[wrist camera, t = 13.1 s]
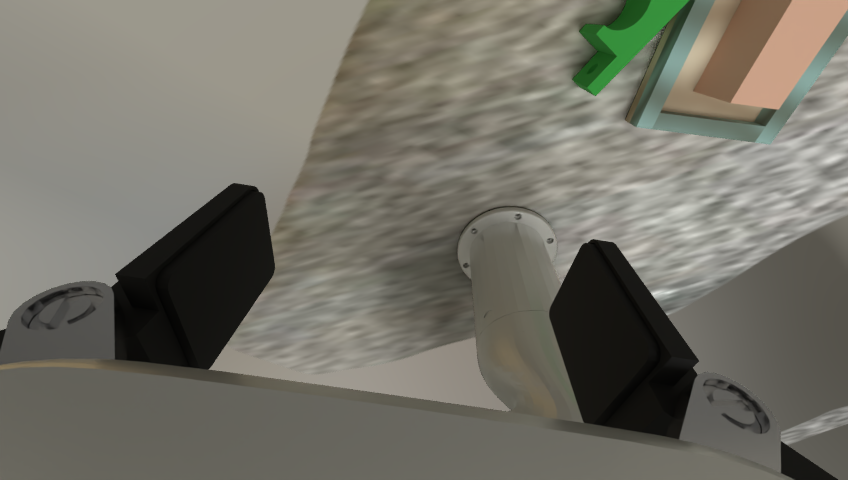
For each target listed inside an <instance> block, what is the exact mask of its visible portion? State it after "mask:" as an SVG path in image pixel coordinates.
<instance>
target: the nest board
mask: <svg viewBox="0 0 848 480" xmlns="http://www.w3.org/2000/svg"><path fill="white" fill-rule="evenodd" d="M741 1H742V0H689V1H688V2H687V3H686V4H685V5H684V6H683V7H682V8H681V10H680V11H679V12H678V13H677V14H676V15H675V16H674V17H673V18H672V19H671V20H670V21H669V22H668V24H667V26H666V28H665V31H664V33H663V35H662V38H661V40H660V42H659V44H658V47H657V49H656V51H655V53H654V56H653V58H652V60H651V63H650V65H649V67H648V69H647V72H646V74H645V76H644V78H643V81H642V83H641V85H640V87H639V90H638V92H637V94H636V97H635V99H634V101H633V103H632V106H631V108H630V110H629V112H628V115H627V117H626V119H625V120H626V121H627V122H629V123H630V124H632V125H634V126H635V127H640V128H648V129H655V130H663V131H671V132H678V133H686V134H694V135H702V136H709V137H717V138H725V139H733V140H740V141H748V142H756V143H764V144H771V143H772V141H773V140H774V138H775V137H776V136H777V134H778V133H779V131H780V130H781V129H782V127H783V126H784V124H785V123H786V122H787V120H788V119H789V117H790V116H791V115H792V113H793V112H794V110H795V109H796V108H797V106H798V105H799V103H800V102H801V100H802V99H803V98H804V96H805V95H806V93H807V92H808V91H809V89H810V88H811V86H812V85H813V84H814V82H815V81H816V79H817V78H818V77H819V75H820V74H821V72H822V71H823V70H824V68H825V67H826V65H827V64H828V63H829V61H830V60H831V58H832V57H833V55H834V54H835V53H836V51H837V50H838V48H839V47H840V46H841V44H842V43H843V41H844V40H845V39H846V37H847V36H848V10H847V11H846V13H845V14H844V16H843V17H842V19H841V20H840V21H839V23H838V24H837V26H836V27H835V29H834V30H833V32H832V33H831V34H830V36H829V37H828V39H827V40H826V42H825V43H824V45H823V46H822V47H821V49H820V50H819V52H818V53H817V55H816V56H815V58H814V59H813V61H812V62H811V63H810V65H809V66H808V68H807V69H806V71H805V72H804V74H803V75H802V76H801V78H800V79H799V81H798V82H797V84H796V85H795V87H794V88H793V90H792V91H791V92H790V94H789V95H788V97H787V98H786V100H785V101H784V103H783V104H782V105H781V107H780V108H779V110H778V109H770V108H763V107H756V106H748V105H741V104H734V103H728V102H725V101H722V100H719V99H716V98H713V97H709V96H706V95H703V94H700V93H697V92H693V91H694V89H695V87H696V85H697V83H698V81H699V79H700V77H701V76H702V74H703V72H704V70H705V68H706V66H707V64H708V63H709V61H710V59H711V57H712V55H713V53H714V51H715V49H716V48H717V46H718V44H719V42H720V40H721V38H722V36H723V34H724V33H725V31H726V29H727V27H728V25H729V23H730V21H731V19H732V18H733V16H734V14H735V12H736V10H737V8H738V6H739V4H740V3H741Z"/></svg>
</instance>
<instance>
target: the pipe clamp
mask: <svg viewBox="0 0 848 480" xmlns="http://www.w3.org/2000/svg"><path fill="white" fill-rule="evenodd" d="M688 1H689V0H626V4H625V7H624V9H623V11H622V13H621V14H620V16H619V17H618V18H617V19H616V20H615V21H614V22H613V23H612V24H610V25H608V26H605V25H595V24H585V25H584V27H583V28H582V29H581V30H580V31H579V32H580V33H581V34H582V35H583V36H584V37H585V38H586V39H587V41H588V42H589V43H590V44H591V45H592V46H593V47H594V48H595V49H596V50H597V51H598V52H597V53H596V54H595V55H594V56H593V57H592V58H591V60H590V61H589V62H588V63H587V64H586V65H585V66H584V67H583V68H582V69H581V71H580V72H579V73H578V74H577V75H576V76H575V77H574V78H573V79H572V80H573V81H574V82H575V83H576V84H577V85H578V86H579V87H580V88H582V89H584V90H586V91H587V92H589V93H591V94H593V95H595V96H596V95H597V94H598V93H599V92H600V91H601V90H602V89H603V88H604V87H605V86H606V85H607V84H608V83H609V82H610V81H611V80H612V79H613V78H614V77H615V76H616V75H617V74H618V73H619V72H620V71H621V70H622V69H623V68H624V67H625V66H626V65H627V64H628V63H629V61H630V60H631V59H632V58H633V57H634V56H635V55H636V54H637V53H638V52H639V51H640V50H641V49H642V48H643V47H644V46H645V45H646V44H647V43H648V42H649V41H650V40H651V39H652V38H653V37H654V36H655V35H656V34H657V33H658V32H659V31H660V30H661V29H662V28H663V27H664V26H665V25H666V24H667V23H668V22H669V21H670V20H671V19H672V18H673V17H674V16H675V15H676V14H677V13H678V12H679V11H680V10H681V8H682V7H683V6H684V5H685V4H686V3H687V2H688Z"/></svg>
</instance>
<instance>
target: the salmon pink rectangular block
mask: <svg viewBox="0 0 848 480" xmlns="http://www.w3.org/2000/svg"><path fill="white" fill-rule="evenodd" d="M847 10H848V0H742V1H741V3H740V4H739V6H738V8H737V10H736V12H735V14H734V16H733V18H732V19H731V21H730V23H729V25H728V27H727V29H726V31H725V33H724V34H723V36H722V38H721V40H720V42H719V44H718V46H717V48H716V49H715V51H714V53H713V55H712V57H711V59H710V61H709V63H708V64H707V66H706V68H705V70H704V72H703V74H702V76H701V77H700V79H699V81H698V83H697V85H696V87H695V89H694V91H693V92H697V93H700V94H703V95H706V96H709V97H713V98H716V99H719V100H722V101H725V102H728V103H734V104H741V105H748V106H756V107H763V108H770V109H778V110H779V108H780V107H781V105H782V104H783V103H784V101H785V100H786V98H787V97H788V95H789V94H790V92H791V91H792V90H793V88H794V87H795V85H796V84H797V82H798V81H799V79H800V78H801V76H802V75H803V74H804V72H805V71H806V69H807V68H808V66H809V65H810V63H811V62H812V61H813V59H814V58H815V56H816V55H817V53H818V52H819V50H820V49H821V47H822V46H823V45H824V43H825V42H826V40H827V39H828V37H829V36H830V34H831V33H832V32H833V30H834V29H835V27H836V26H837V24H838V23H839V21H840V20H841V19H842V17H843V16H844V14H845V13H846V11H847Z"/></svg>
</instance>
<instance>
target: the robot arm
mask: <svg viewBox="0 0 848 480" xmlns="http://www.w3.org/2000/svg"><path fill="white" fill-rule="evenodd" d="M516 214H518V215H516ZM473 228H475V229H473ZM457 252H458V260H459V264H460V266H461V268H462V270H463V272H464V273H465V274H466V275H467V276H468V277H469V278H470V279H471V282H472V295H473V308H474V321H475V334H476V346H477V358H478V363H479V368H480V371H481V374H482V376H483V378H484V380H485V381H486V384H487V385H488V386H489V388H490V389H491V390H492V392H493V393H494V394H495V395H496V396H497V397H498V398H499V399H500V400H501V401H502V402H503V403H504V404H505V405H506V406H507V407H508V408H509V409H511V411H508V412H506V411H499V410H493V409H485V408H479V407H472V406H465V405H458V404H451V403H444V402H437V401H430V400H423V399H416V398H409V397H403V396H395V395H388V394H381V393H374V392H367V391H360V390H353V389H346V388H339V387H331V386H324V385H317V384H309V383H303V382H295V381H288V380H281V379H273V378H265V377H259V376H252V375H243V374H237V373H230V372H222V371H214V370H208V369H209V368H210V367H211V366H212V365H213V363H214V362H215V360H216V359H217V357H218V356H219V354H220V353H221V351H222V349H223V348H224V347H225V345H226V344H227V343H228V341H229V340H230V338H231V337H232V335H233V334H234V332H235V331H236V329H237V328H238V326H239V325H240V323H241V322H242V320H243V319H244V317H245V316H246V315H247V313H248V312H249V310H250V309H251V307H252V306H253V304H254V303H255V301H256V300H257V298H258V297H259V295H260V294H261V292H262V291H263V290H264V288H265V287H266V285H267V284H268V282H269V281H270V279H271V278H272V276H273V274H274V270H275V263H274V256H273V249H272V243H271V236H270V230H269V223H268V217H267V210H266V203H265V198H264V195H263V193H261V192H259V191H258V189H257V188H256V187H255V186H249V185H242V184H236V183H233V184H231V185H230V186H228V187H227V188H226V189H225V190H223V191H222V192H221V193H219V194H218V195H217V196H215V197H214V198H213V199H212V200H210V201H209V202H208V203H206V204H205V205H204V206H203V207H201V208H200V209H199V210H197V211H196V212H195V213H194V214H192V215H191V216H190V217H188V218H187V219H186V220H185V221H183V222H182V223H181V224H179V225H178V226H177V227H175V228H174V229H173V230H172V231H170V232H169V233H168V234H166V235H165V236H164V237H163V238H162V239H160V240H159V241H157V242H156V243H155V244H153V245H152V246H151V247H150V248H148V249H147V250H146V251H144V252H143V253H142V254H141V255H139V256H138V257H137V258H135V259H134V260H133V261H132V262H130V263H129V264H128V265H126V266H125V267H124V268H122V269H121V270H120V271H119V272H118V273H116V274H115V275H116V277H117V279H118V282H117V283H116V284H114V285H113V286H112V287H109V286H108V285H106V284H105V283H100V282H96V281H82V282H75V283H69V284H65V285H61V286H58V287H55V288H51V289H49V290H47V291H45V292H42V293H40V294H38V295H36V296H34V297H32V298H31V299H29V300H28V301H26V302H24V303H23V304H22V305H21V306H20V307H19V308H17V309H16V310H15V311H14V312H13V314H12V315H11V317H10V319H9V321H8V325H7V328H6V329H4V330H1V331H0V480H838V479H836V478H835V477H833V476H832V475H830V474H829V473H827V472H826V471H824V470H823V469H821V468H820V467H818V466H817V465H816V464H814V463H813V462H811V461H810V460H808V459H807V458H805V457H804V456H802V455H801V454H799V453H798V452H796V451H795V450H793V449H792V448H790V447H789V446H787V445H786V444H784V443H783V442H781V432H780V428H779V424H778V422H777V420H776V418H775V417H774V415H773V413H772V412H771V411H770V409H769V408H768V407H767V406H766V405H765V404H764V403H763V401H762V400H760V399H759V398H758V397H757V396H756V395H754V394H753V393H752V392H751V391H750V390H748V389H747V388H745V387H744V386H742V385H741V384H739V383H738V382H736V381H734V380H732V379H730V378H728V377H726V376H723V375H720V374H717V373H709V372H704V373H701V374H698V375H697V373H696V372H695V370H694V369H693V367H694V366H695V364H697V363H698V362H699V360H698V359H697V357H696V356H695V354H694V353H693V352H692V350H691V349H690V348H689V346H688V345H687V343H686V342H685V341H684V339H683V338H682V336H681V335H680V334H679V332H678V331H677V329H676V328H675V327H674V325H673V324H672V322H671V321H670V320H669V318H668V317H667V315H666V314H665V313H664V311H663V310H662V308H661V307H660V306H659V304H658V303H657V301H656V300H655V299H654V297H653V296H652V294H651V293H650V292H649V290H648V289H647V287H646V286H645V285H644V283H643V282H642V281H641V279H640V278H639V276H638V275H637V274H636V272H635V271H634V269H633V268H632V267H631V265H630V264H629V262H628V261H627V260H626V258H625V257H624V255H623V254H622V253H621V251H620V250H619V248H618V247H617V246H616V244H615V243H613V242H607V241H601V240H594V239H593V240H590V241H589V242H588V243H584V244H583V245H582V246H581V248H580V250H579V252H578V254H577V256H576V258H575V259H574V261H573V263H572V265H571V267H570V269H569V271H568V273H567V275H566V277H565V279H564V281H563V283H562V285H561V283H560V280H559V278H558V276H557V273H556V271H555V268H554V266H553V262H554V260H555V257H556V254H557V240H556V236H555V233H554V231H553V229H552V228H551V226H550V224H549V223H548V222H547V221H546V220H545V219H544V218H543V217H542V216H540V215H538V214H537V213H535V212H533V211H530V210H527V209H523V208H517V207H505V208H498V209H494V210H491V211H488V212H486V213H484V214H482V215H480V216H478V217H477V218H475V219H474V220H473V221H472V222H470V223H469V225H468V226H467V227H466V228H465V229H464V231H463V233H462V234H461V236H460V239H459V242H458V250H457Z"/></svg>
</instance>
